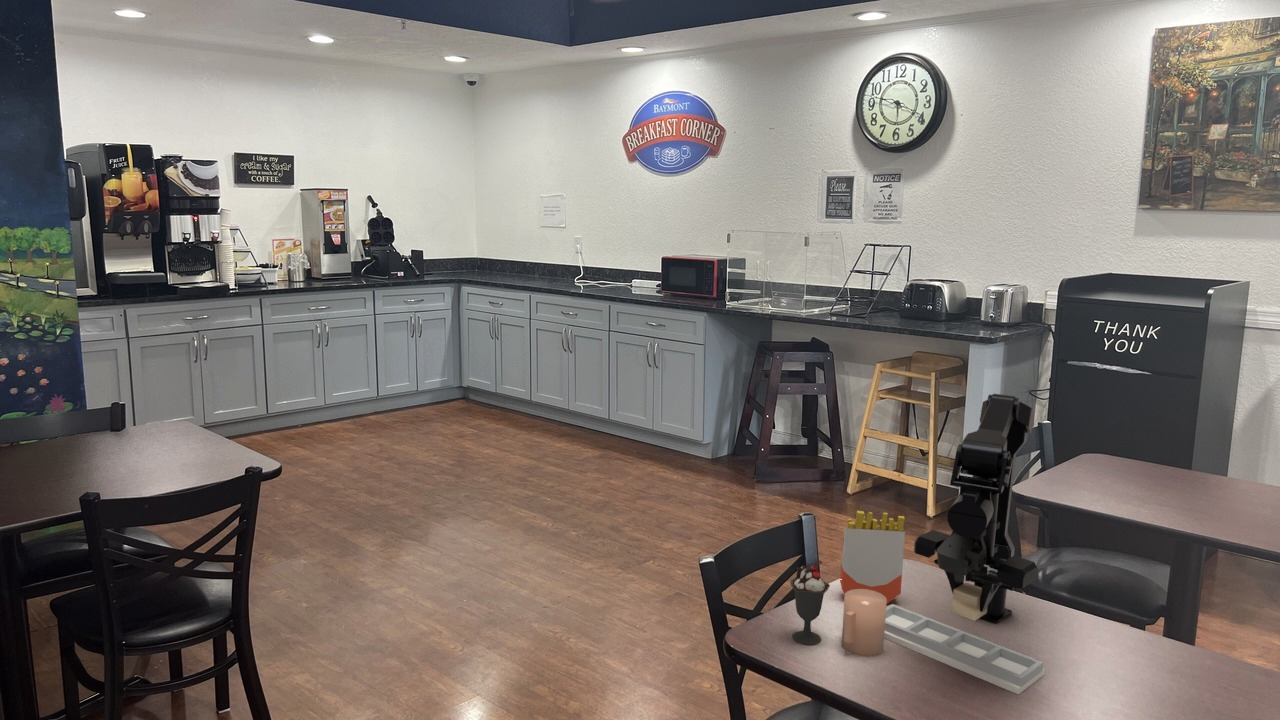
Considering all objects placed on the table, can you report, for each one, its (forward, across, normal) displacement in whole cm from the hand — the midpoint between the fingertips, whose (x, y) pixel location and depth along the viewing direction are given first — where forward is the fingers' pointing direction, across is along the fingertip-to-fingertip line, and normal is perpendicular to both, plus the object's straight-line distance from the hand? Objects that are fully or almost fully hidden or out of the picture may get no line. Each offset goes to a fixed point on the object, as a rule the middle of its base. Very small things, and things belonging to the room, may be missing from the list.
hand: (969, 606), depth 150 cm
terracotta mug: (+10, -15, -8) cm, 20 cm away
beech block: (+1, 0, 0) cm, 1 cm away
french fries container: (+11, -25, +9) cm, 29 cm away
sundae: (+11, -23, -13) cm, 28 cm away
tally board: (+11, -4, +2) cm, 12 cm away
